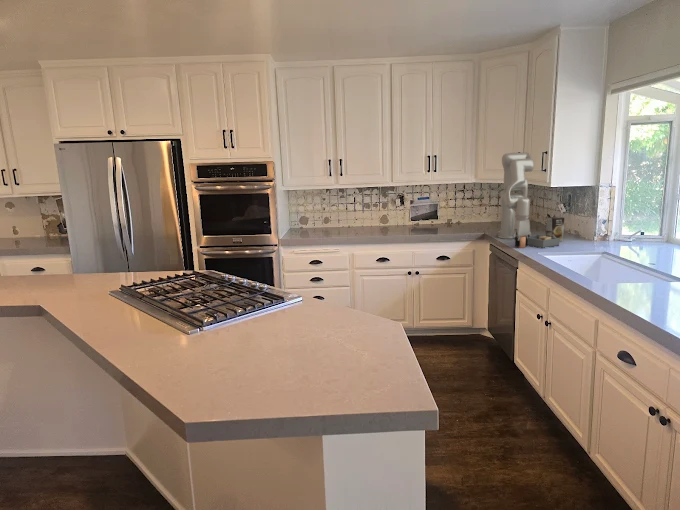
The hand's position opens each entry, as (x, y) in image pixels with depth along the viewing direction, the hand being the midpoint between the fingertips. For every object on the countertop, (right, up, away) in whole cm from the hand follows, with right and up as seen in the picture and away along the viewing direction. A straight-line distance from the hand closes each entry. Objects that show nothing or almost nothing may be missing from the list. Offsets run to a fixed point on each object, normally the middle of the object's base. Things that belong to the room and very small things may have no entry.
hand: (521, 245), depth 288 cm
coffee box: (+29, +3, +16) cm, 33 cm away
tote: (+14, +1, +5) cm, 15 cm away
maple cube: (+16, +1, +2) cm, 16 cm away
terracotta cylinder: (0, -1, 0) cm, 1 cm away
